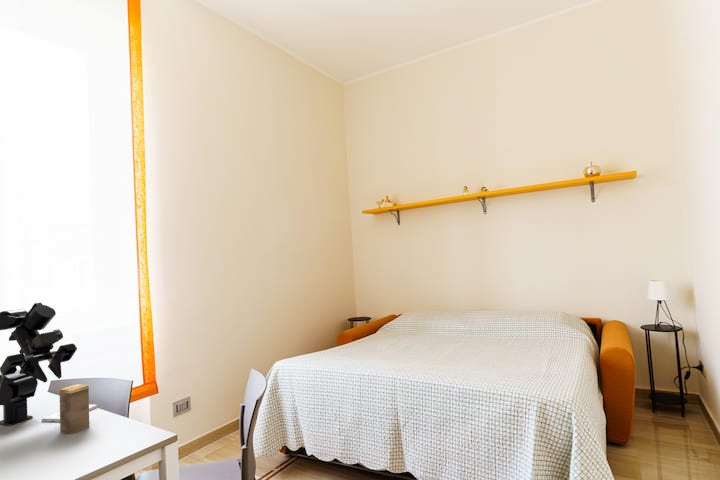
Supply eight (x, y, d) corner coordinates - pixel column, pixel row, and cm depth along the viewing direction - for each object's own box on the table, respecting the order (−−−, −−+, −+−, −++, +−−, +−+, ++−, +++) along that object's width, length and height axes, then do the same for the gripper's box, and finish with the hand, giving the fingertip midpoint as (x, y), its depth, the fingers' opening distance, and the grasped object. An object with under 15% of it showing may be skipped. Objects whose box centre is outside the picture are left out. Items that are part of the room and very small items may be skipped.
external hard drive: (97, 409, 138) (64, 424, 126) (76, 408, 139) (41, 423, 127) (97, 404, 138) (64, 418, 126) (76, 404, 139) (41, 418, 127)
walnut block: (60, 432, 118) (59, 389, 118) (78, 425, 122) (77, 384, 123) (71, 434, 116) (70, 390, 117) (89, 427, 121) (88, 385, 121)
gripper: (5, 328, 118) (29, 369, 113) (72, 318, 135) (96, 353, 130) (-11, 354, 121) (12, 396, 116) (58, 341, 138) (80, 377, 133)
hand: (53, 379), depth 124 cm, fingers open, 4 cm apart
